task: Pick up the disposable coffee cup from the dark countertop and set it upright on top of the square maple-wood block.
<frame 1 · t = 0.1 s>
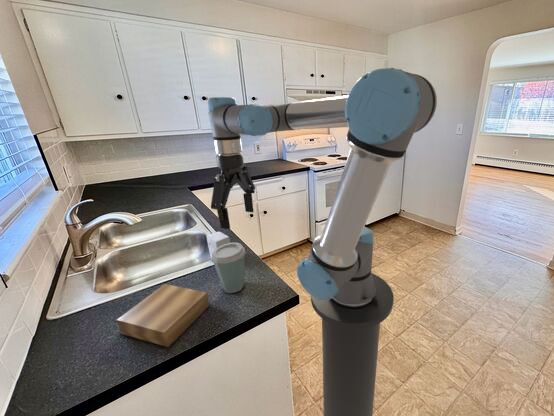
hand: (238, 219, 87), 24 cm above the worktop, tool pointing down, fingers open, 13 cm apart
disposable coffee cup: (233, 287, 92), on the worktop
maple block: (168, 318, 78), on the worktop
small box: (221, 259, 108), on the worktop
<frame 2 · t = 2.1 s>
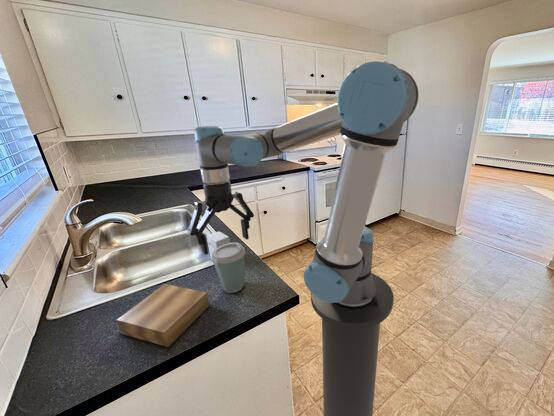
hand: (226, 245, 86), 16 cm above the worktop, tool pointing down, fingers open, 13 cm apart
nothing on the worktop moved.
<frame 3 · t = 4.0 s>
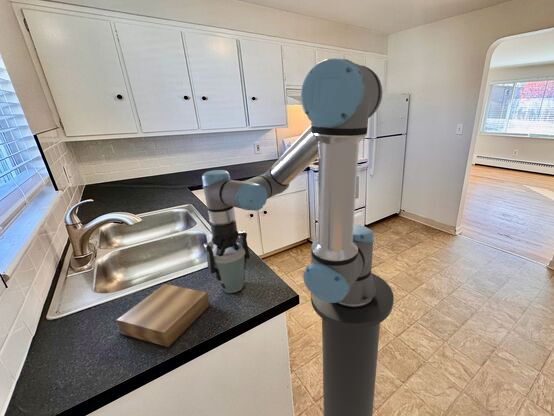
hand: (233, 282, 91), 2 cm above the worktop, tool pointing down, fingers open, 6 cm apart
disposable coffee cup: (233, 287, 92), on the worktop, touching hand
everything else where it was.
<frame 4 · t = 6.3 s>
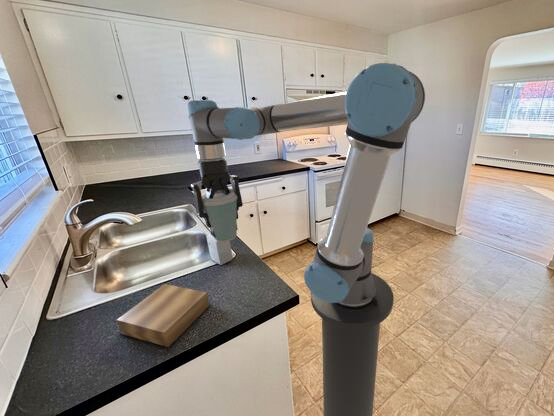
hand: (224, 232, 84), 21 cm above the worktop, tool pointing down, fingers open, 6 cm apart
disposable coffee cup: (225, 238, 85), point 19 cm above the worktop, touching hand
everything else where it was.
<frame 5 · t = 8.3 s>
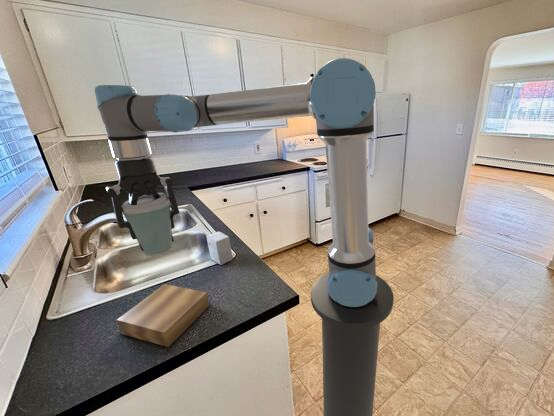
hand: (157, 244, 71), 24 cm above the worktop, tool pointing down, fingers open, 6 cm apart
disposable coffee cup: (158, 250, 72), point 22 cm above the worktop, touching hand
everything else where it was.
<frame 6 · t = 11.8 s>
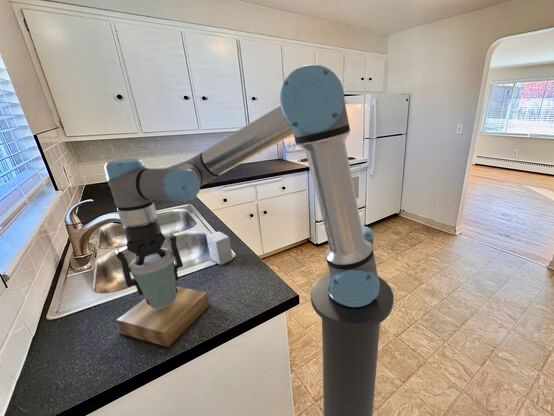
hand: (162, 295, 75), 8 cm above the worktop, tool pointing down, fingers open, 6 cm apart
disposable coffee cup: (163, 301, 76), point 6 cm above the worktop, touching hand
everything else where it was.
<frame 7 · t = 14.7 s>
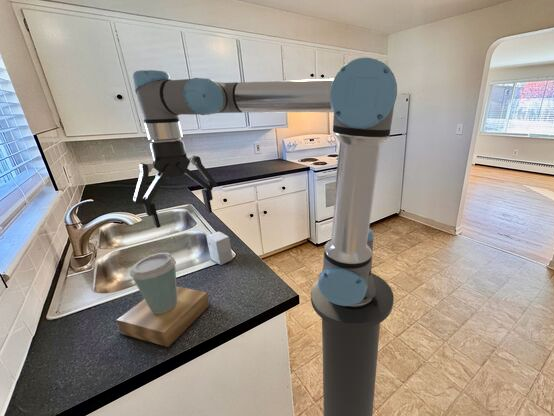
hand: (184, 218, 74), 29 cm above the worktop, tool pointing down, fingers open, 13 cm apart
disposable coffee cup: (164, 306, 76), point 5 cm above the worktop, touching maple block
maple block: (168, 318, 78), on the worktop, touching disposable coffee cup
everything else where it was.
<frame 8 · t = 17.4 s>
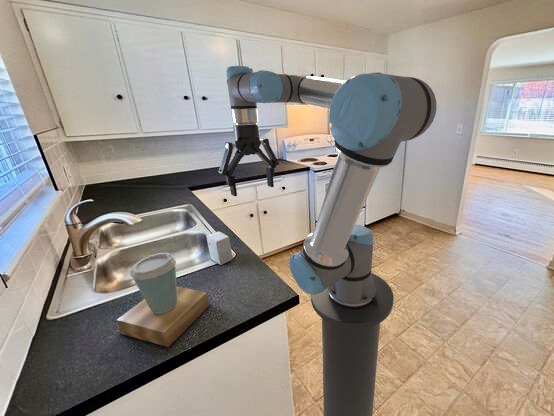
hand: (253, 190, 89), 32 cm above the worktop, tool pointing down, fingers open, 13 cm apart
nothing on the worktop moved.
at the end: disposable coffee cup inside the target area on the maple block (0.3 cm from its centre), point 4.8 cm above the maple block's base; disposable coffee cup tilted 0°; the gripper is holding nothing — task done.
